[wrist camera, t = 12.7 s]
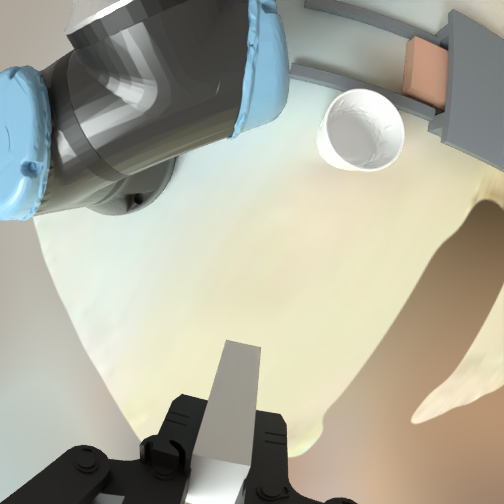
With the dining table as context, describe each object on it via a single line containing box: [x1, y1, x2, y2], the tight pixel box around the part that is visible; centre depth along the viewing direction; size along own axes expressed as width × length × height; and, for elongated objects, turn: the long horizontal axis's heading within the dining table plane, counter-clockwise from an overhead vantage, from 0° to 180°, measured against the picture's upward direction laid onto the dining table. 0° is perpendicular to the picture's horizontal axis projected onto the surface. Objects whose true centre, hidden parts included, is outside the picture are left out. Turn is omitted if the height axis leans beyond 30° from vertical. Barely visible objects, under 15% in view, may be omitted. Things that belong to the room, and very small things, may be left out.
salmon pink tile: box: [402, 36, 448, 111], centre depth 31 cm, size 14×8×3 cm, turn 78°
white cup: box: [316, 89, 405, 171], centre depth 31 cm, size 8×8×10 cm
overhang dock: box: [289, 0, 504, 172], centre depth 30 cm, size 31×20×6 cm, turn 78°
